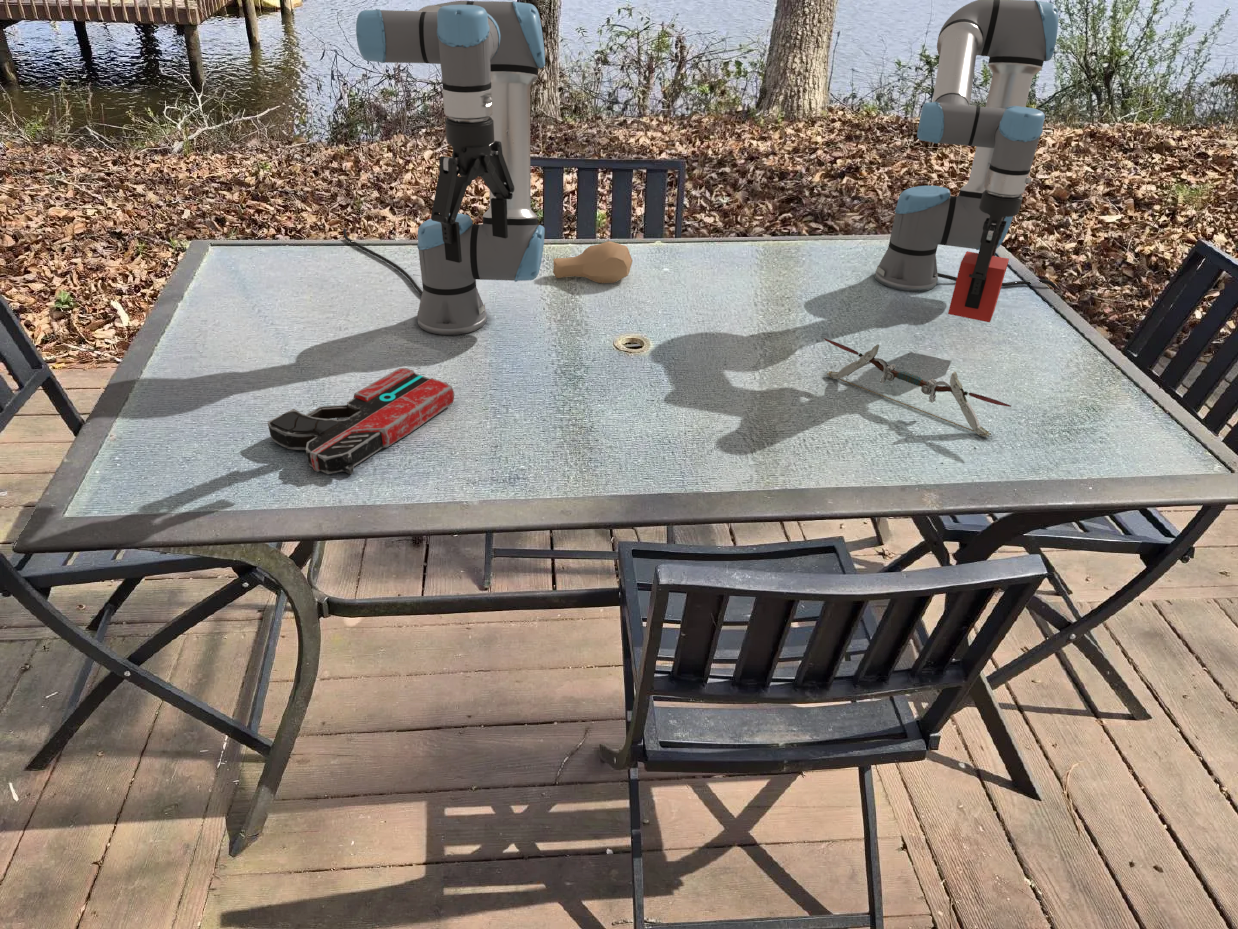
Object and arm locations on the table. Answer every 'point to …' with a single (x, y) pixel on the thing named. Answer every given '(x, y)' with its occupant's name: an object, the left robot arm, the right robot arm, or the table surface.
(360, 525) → the table surface
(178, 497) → the table surface
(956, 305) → the brick
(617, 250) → the squash
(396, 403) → the gun
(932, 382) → the bow
